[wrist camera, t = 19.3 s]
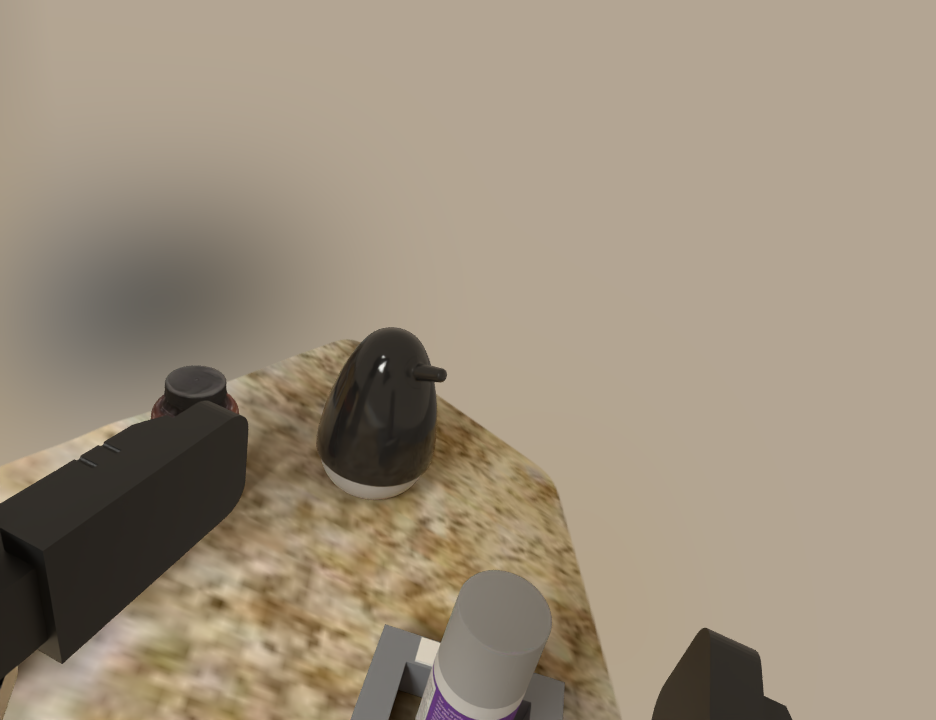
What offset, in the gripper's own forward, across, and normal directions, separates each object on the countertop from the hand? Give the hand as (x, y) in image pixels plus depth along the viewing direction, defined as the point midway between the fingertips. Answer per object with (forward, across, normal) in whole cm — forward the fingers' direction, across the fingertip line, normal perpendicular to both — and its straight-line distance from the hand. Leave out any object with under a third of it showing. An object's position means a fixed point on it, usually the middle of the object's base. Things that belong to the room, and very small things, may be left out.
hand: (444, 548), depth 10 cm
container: (+12, -1, +30) cm, 33 cm away
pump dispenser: (+32, +14, +30) cm, 46 cm away
